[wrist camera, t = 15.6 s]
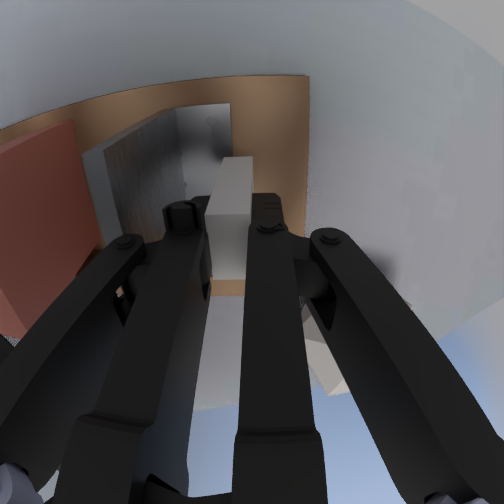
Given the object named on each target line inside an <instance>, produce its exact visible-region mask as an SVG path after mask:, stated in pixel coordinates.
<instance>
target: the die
mask: <svg viewBox="0 0 504 504" xmlns="http://www.w3.org/2000/svg"><path fill="white" fill-rule="evenodd" d="M403 300H404V299H403ZM404 301H405V300H404ZM405 302H406V303H407V305H408V306H409V307H410V308H411V310H413V306H412V305H411V304H409V303H408V302H407V301H405ZM301 316H302V323H303V330H304V338H305V345H306V353H307V361H308V365H309V367H310V368H311V370H312V372H313V373H314V375H315V377H316V378H317V380H318V381H319V383H320V385H321V386H322V388H323V389H324V391H325V393H326V394H327V396H332V395H336V394H342V393H346V392H350V390H349V388H348V386H347V384H346V382H345V380H344V378H343V376H342V374H341V372H340V370H339V368H338V366H337V364H336V362H335V360H334V358H333V356H332V354H331V352H330V350H329V348H328V346H327V344H326V342H325V340H324V338H323V336H322V334H321V332H320V330H319V328H318V326H317V324H316V322H315V320H314V318H313V316H312V315H311V313H310V311H309V309H308V307H307V305H306V303H305V304H304V307H303V309H302V312H301Z"/></svg>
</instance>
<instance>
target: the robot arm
mask: <svg viewBox="0 0 504 504" xmlns="http://www.w3.org/2000/svg"><path fill="white" fill-rule="evenodd" d="M162 213H163V218H164V223H165V228H166V232H165V234H164V236H163V238H162V240H158V241H155V242H150V243H146V244H145V242H144V239H143V237H142V236H141V235H139V234H130V233H129V234H126V235H125V234H124V235H121V236H120V237H118V238H116V239H114V240H113V241H112V242H110V243H109V244H108V245H107V246H106V247H105V248H104V249H103V250H102V251H101V252H100V253H99V254H98V255H97V256H96V257H95V258H94V259H93V260H92V261H91V262H90V263H89V264H88V265H87V266H86V267H85V268H84V269H83V270H82V271H81V272H80V273H79V274H78V275H77V276H76V278H75V279H74V280H73V281H72V282H71V283H70V284H69V285H68V286H67V287H66V288H65V289H64V290H63V291H62V292H61V294H60V295H59V296H58V297H57V298H56V299H55V300H54V301H53V302H52V304H51V305H50V306H49V307H48V308H47V309H46V310H45V311H44V313H43V314H42V315H41V316H40V317H39V318H38V320H37V321H36V322H35V323H34V324H33V326H32V327H31V328H30V329H29V330H28V332H27V333H26V334H25V335H24V336H23V338H22V339H21V340H20V341H19V343H18V344H17V345H16V346H15V348H13V347H12V346H11V345H10V344H9V343H8V342H7V341H6V340H5V339H4V338H3V337H2V336H1V335H0V504H328V498H327V485H326V474H325V462H324V452H323V446H322V439H321V436H320V433H319V432H318V431H317V430H316V427H315V423H314V415H313V406H312V396H311V387H310V378H309V370H308V361H307V353H306V345H305V338H304V330H303V323H302V316H301V308H300V301H299V296H303V297H304V299H305V303H306V305H307V307H308V309H309V311H310V313H311V315H312V316H313V318H314V320H315V322H316V324H317V326H318V328H319V330H320V332H321V334H322V336H323V338H324V340H325V342H326V344H327V346H328V348H329V350H330V352H331V354H332V356H333V358H334V360H335V362H336V364H337V366H338V368H339V370H340V372H341V374H342V376H343V378H344V380H345V382H346V384H347V386H348V388H349V390H350V392H351V394H352V396H353V398H354V400H355V402H356V404H357V406H358V408H359V411H360V412H361V414H362V417H363V419H364V421H365V423H366V425H367V427H368V429H369V431H370V433H371V435H372V438H373V439H374V442H375V444H376V446H377V448H378V450H379V452H380V455H381V457H382V459H383V461H384V463H385V465H386V467H387V469H388V472H389V474H390V476H391V478H392V480H393V482H394V484H395V486H396V488H397V490H398V492H399V493H400V495H401V497H402V498H403V499H404V501H405V502H406V503H407V504H504V440H503V439H502V438H500V437H499V436H498V435H497V433H496V432H495V430H494V428H493V427H492V425H491V423H490V422H489V420H488V418H487V417H486V415H485V413H484V412H483V410H482V409H481V407H480V405H479V404H478V402H477V401H476V399H475V398H474V396H473V395H472V393H471V391H470V390H469V388H468V387H467V385H466V384H465V382H464V381H463V379H462V378H461V377H460V375H459V373H458V372H457V371H456V369H455V368H454V366H453V365H452V363H451V362H450V361H449V359H448V358H447V356H446V355H445V354H444V352H443V351H442V349H441V348H440V347H439V345H438V344H437V343H436V341H435V340H434V338H433V337H432V336H431V334H430V333H429V332H428V330H427V329H426V328H425V327H424V325H423V324H422V323H421V321H420V320H419V319H418V317H417V316H416V315H415V314H414V312H413V311H412V310H411V308H410V307H409V306H408V305H407V303H406V302H405V301H404V300H403V298H402V297H401V296H400V295H399V294H398V292H397V291H396V290H395V289H394V287H393V286H392V285H391V284H390V283H389V281H388V280H387V279H386V278H385V277H384V275H383V274H382V273H381V272H380V271H379V269H378V268H377V267H376V266H375V265H374V264H373V262H372V261H371V260H370V259H369V258H368V257H367V256H366V254H365V253H364V252H363V251H362V250H361V249H360V248H359V247H358V245H357V244H356V243H355V242H354V241H353V240H352V239H351V238H350V236H349V235H347V234H346V233H345V232H343V231H341V230H338V229H336V228H320V229H317V230H315V231H313V232H312V233H311V236H310V238H306V237H301V236H297V235H295V234H292V233H291V232H289V231H288V227H287V225H286V224H285V222H284V216H283V210H282V204H281V198H280V197H279V196H278V195H277V194H276V193H254V183H253V156H247V157H224V159H223V162H222V165H221V167H220V170H219V173H218V176H217V179H216V182H215V185H214V188H213V191H212V194H211V195H206V196H195V197H193V198H192V199H191V200H183V201H177V202H173V203H170V204H168V205H167V206H165V207H164V208H163V209H162ZM211 270H212V276H213V280H245V298H244V317H243V336H242V356H241V376H240V396H239V418H238V430H237V434H236V436H235V443H234V456H233V475H232V476H233V477H232V492H230V493H224V494H217V495H211V496H203V497H193V498H192V497H188V487H189V474H188V469H187V461H186V460H187V450H188V442H189V435H190V426H191V419H192V412H193V405H194V397H195V390H196V383H197V377H198V370H199V363H200V357H201V350H202V344H203V337H204V331H205V325H206V319H207V313H208V307H209V301H210V295H211V289H212V288H211V281H210V275H211ZM120 286H121V288H122V291H123V294H122V295H121V296H120V297H119V298H118V296H117V294H116V291H117V290H118V288H119V287H120ZM98 397H99V398H98ZM97 399H98V401H97V404H96V407H95V409H94V411H92V412H91V413H89V412H90V411H91V409H92V407H93V405H94V404H95V402H96V400H97ZM61 462H62V464H61V467H60V471H59V475H58V479H57V484H56V488H55V493H54V496H53V497H52V498H50V499H49V500H48V501H46V502H45V503H44V502H43V499H42V497H41V496H40V495H39V494H38V493H37V492H38V491H39V490H40V489H41V488H42V487H44V486H45V485H46V483H47V482H48V481H49V479H50V478H51V477H52V476H53V475H54V473H55V471H56V470H57V468H58V467H59V465H60V463H61Z"/></svg>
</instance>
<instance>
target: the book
mask: <svg viewBox="0 0 504 504" xmlns="http://www.w3.org/2000/svg"><path fill="white" fill-rule="evenodd" d="M100 239H101V236H100V233H99V230H98V226H97V223H96V220H95V216H94V213H93V209H92V206H91V202H90V198H89V195H88V191H87V187H86V183H85V179H84V175H83V170H82V166H81V162H80V157H79V152H78V147H77V142H76V137H75V132H74V126H73V120H72V119H71V120H67V121H64V122H60V123H57V124H54V125H50V126H47V127H44V128H41V129H38V130H35V131H32V132H29V133H26V134H23V135H21V136H19V137H17V138H15V139H13V140H11V141H9V142H7V143H5V144H3V145H1V146H0V334H3V335H7V336H11V337H15V338H19V339H22V338H23V336H24V335H25V334H26V333H27V332H28V330H29V329H30V328H31V327H32V326H33V324H34V323H35V322H36V321H37V320H38V318H39V317H40V316H41V315H42V314H43V313H44V311H45V310H46V309H47V308H48V307H49V306H50V305H51V304H52V302H53V301H54V300H55V299H56V298H57V297H58V296H59V295H60V294H61V292H62V291H63V290H64V289H65V288H66V287H67V286H68V285H69V284H70V282H71V281H72V279H73V278H74V276H75V275H76V273H77V272H78V270H79V269H80V267H81V266H82V264H83V263H84V262H85V260H86V259H87V257H88V256H89V254H90V253H91V252H92V250H93V249H94V247H95V246H96V245H97V243H98V242H99V241H100Z"/></svg>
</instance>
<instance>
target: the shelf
mask: <svg viewBox="0 0 504 504" xmlns="http://www.w3.org/2000/svg"><path fill="white" fill-rule="evenodd" d="M217 103H230V107H231V125H232V143H233V157H247V156H253V183H254V193H276V194H277V195H278V196H279V197H280V198H281V204H282V210H283V216H284V222H285V224H286V225H287V227H288V231H289V232H291V233H292V234H295V235H297V236H301V237H304V231H305V215H306V197H307V175H308V147H309V76H290V75H259V76H233V77H218V78H206V79H196V80H188V81H180V82H172V83H165V84H159V85H153V86H147V87H142V88H136V89H131V90H126V91H122V92H117V93H113V94H108V95H104V96H100V97H96V98H92V99H89V100H85V101H81V102H78V103H74V104H71V105H68V106H64V107H61V108H58V109H55V110H52V111H49V112H46V113H43V114H40V115H38V116H35V117H32V118H30V119H27V120H24V121H22V122H19V123H17V124H14V125H12V126H9V127H7V128H5V129H2V130H0V146H1V145H3V144H5V143H7V142H9V141H11V140H13V139H15V138H17V137H19V136H21V135H23V134H26V133H29V132H32V131H35V130H38V129H41V128H44V127H47V126H50V125H54V124H57V123H60V122H64V121H67V120H71V119H72V120H73V126H74V132H75V137H76V142H77V147H78V152H79V157H80V162H81V166H82V170H83V175H84V179H85V183H86V187H87V191H88V195H89V198H90V202H91V206H92V209H93V213H94V216H95V220H96V223H97V226H98V230H99V233H100V236H101V239H100V241H99V242H98V243H97V245H96V246H95V247H94V249H93V250H92V252H91V253H90V254H89V256H88V257H87V259H86V260H85V262H84V263H83V264H82V266H81V267H80V269H79V270H78V272H77V273H76V275H75V276H74V278H73V279H72V281H73V280H74V279H75V278H76V276H77V275H78V274H79V273H80V272H81V271H82V270H83V269H84V268H85V267H86V266H87V265H88V264H89V263H90V262H91V261H92V260H93V259H94V258H95V257H96V256H97V255H98V254H99V253H100V252H101V251H102V250H103V249H104V248H105V247H106V243H105V240H104V237H103V234H102V231H101V227H100V224H99V221H98V217H97V214H96V210H95V207H94V203H93V199H92V196H91V192H90V188H89V184H88V180H87V176H86V171H85V167H84V162H83V158H82V154H83V153H85V152H86V151H88V150H89V149H91V148H93V147H94V146H96V145H97V144H99V143H101V142H103V141H104V140H106V139H108V138H109V137H111V136H113V135H115V134H116V133H118V132H120V131H122V130H124V129H125V128H127V127H129V126H131V125H133V124H135V123H137V122H139V121H140V120H142V119H144V118H146V117H148V116H150V115H152V114H154V113H156V112H158V111H161V110H163V109H168V108H176V107H184V106H194V105H205V104H217ZM72 281H71V282H72ZM210 281H211V288H212V289H211V295H210V296H245V280H213V276H212V270H211V275H210ZM71 282H70V283H71ZM116 294H123V292H122V289H121V286H120V287H119V288H118V290H117V291H116Z"/></svg>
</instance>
